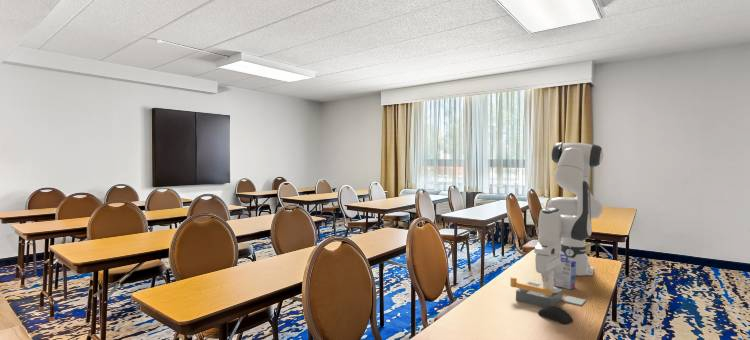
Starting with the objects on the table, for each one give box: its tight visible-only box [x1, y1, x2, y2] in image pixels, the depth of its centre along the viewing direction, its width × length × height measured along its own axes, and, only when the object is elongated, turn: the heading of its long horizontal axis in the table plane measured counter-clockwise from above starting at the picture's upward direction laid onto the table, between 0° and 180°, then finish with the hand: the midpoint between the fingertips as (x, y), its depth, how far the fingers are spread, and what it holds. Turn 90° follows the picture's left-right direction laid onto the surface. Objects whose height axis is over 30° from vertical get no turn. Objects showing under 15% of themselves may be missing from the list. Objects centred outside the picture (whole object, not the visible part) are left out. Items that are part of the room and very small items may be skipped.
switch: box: [515, 281, 564, 308], centre depth 162 cm, size 15×14×5 cm
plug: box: [538, 269, 558, 294], centre depth 161 cm, size 8×8×13 cm
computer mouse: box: [538, 305, 574, 326], centre depth 144 cm, size 6×11×4 cm, turn 34°
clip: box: [510, 276, 552, 296], centre depth 157 cm, size 2×16×4 cm, turn 48°
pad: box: [562, 295, 586, 307], centre depth 160 cm, size 7×7×1 cm
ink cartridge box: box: [553, 254, 577, 290], centre depth 178 cm, size 10×6×14 cm, turn 41°
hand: (548, 279), depth 161 cm, fingers open, 7 cm apart
